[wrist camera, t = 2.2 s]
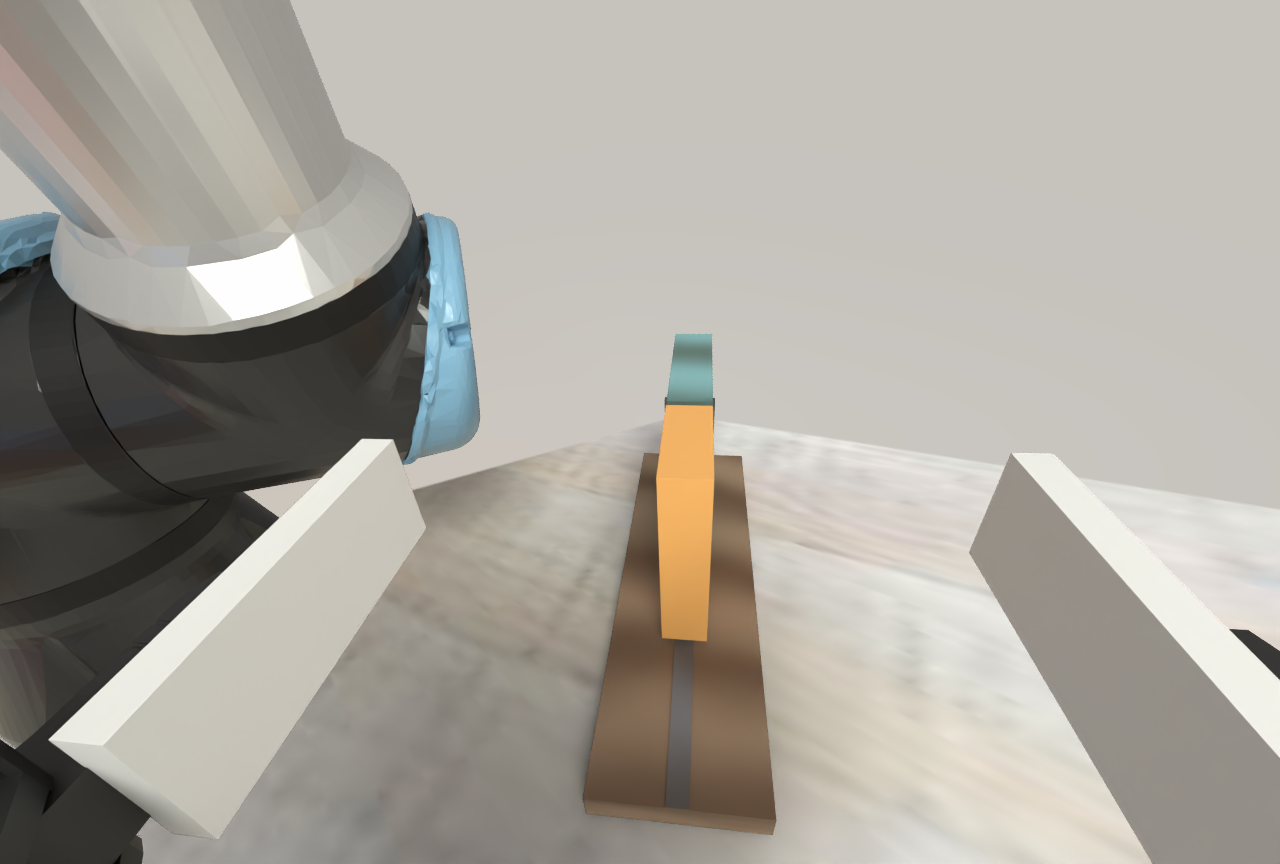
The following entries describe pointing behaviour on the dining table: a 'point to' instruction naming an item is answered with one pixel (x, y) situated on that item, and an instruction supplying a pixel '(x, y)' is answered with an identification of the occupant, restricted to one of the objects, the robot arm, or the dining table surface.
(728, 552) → the ticket stand
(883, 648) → the dining table surface
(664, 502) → the stub
